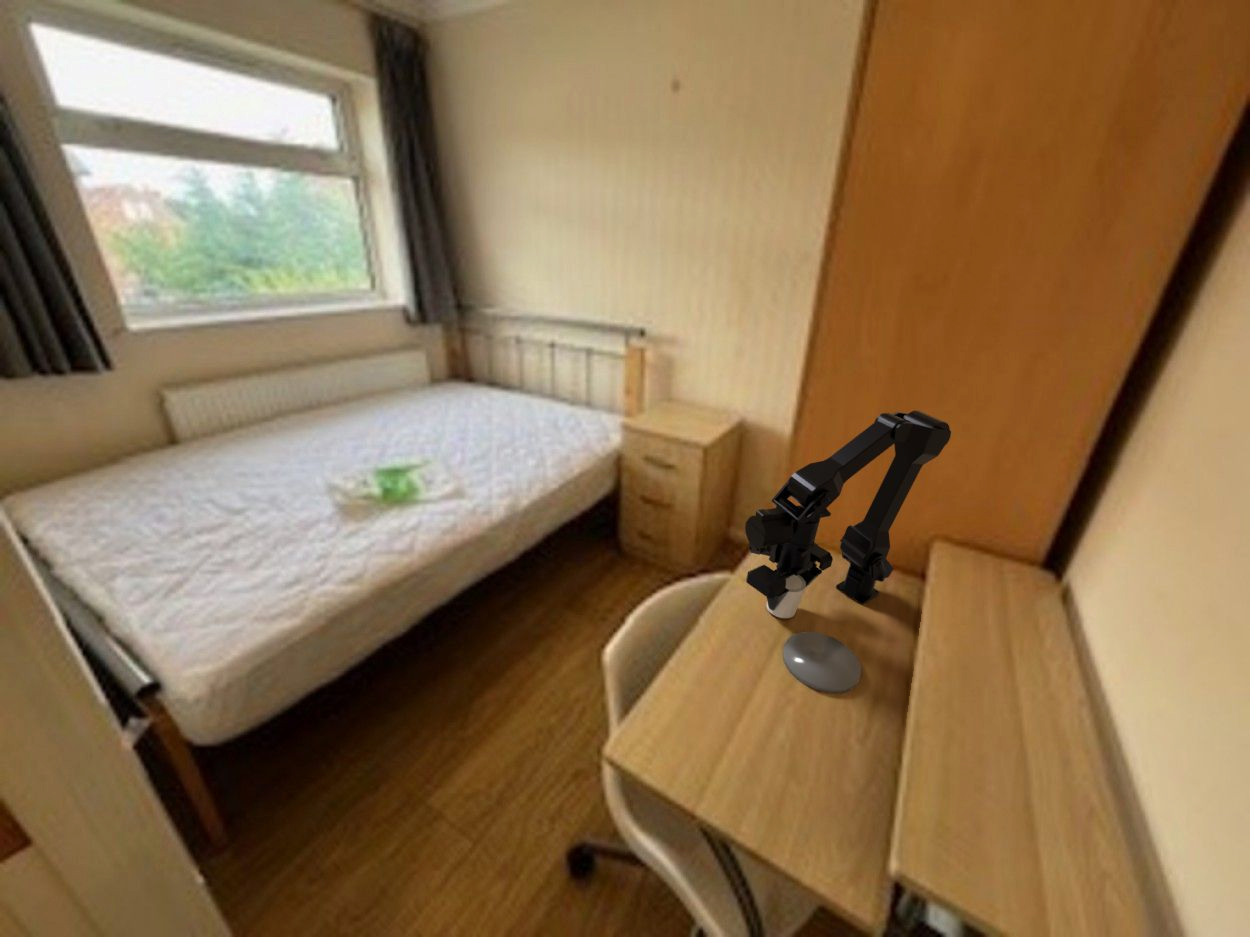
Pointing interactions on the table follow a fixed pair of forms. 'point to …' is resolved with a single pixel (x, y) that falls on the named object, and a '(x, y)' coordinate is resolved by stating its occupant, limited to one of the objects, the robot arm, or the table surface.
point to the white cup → (790, 598)
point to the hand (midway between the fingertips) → (782, 603)
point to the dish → (821, 662)
